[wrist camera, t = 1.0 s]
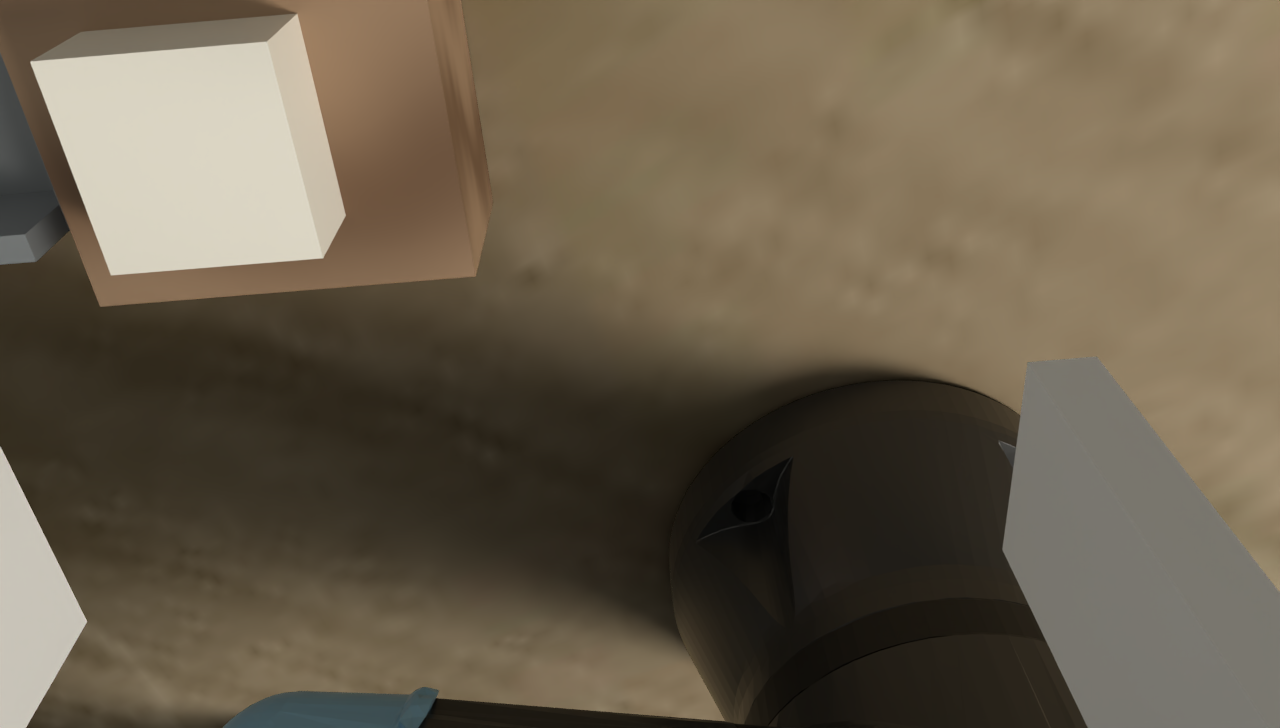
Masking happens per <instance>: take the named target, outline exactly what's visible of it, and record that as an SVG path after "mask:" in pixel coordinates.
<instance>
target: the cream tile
mask: <svg viewBox="0 0 1280 728" xmlns="http://www.w3.org/2000/svg"><path fill="white" fill-rule="evenodd" d="M30 63H31V66H32V68H33V71H34V74H35V76H36V79H37V81H38V84H39V87H40V89H41V92H42V95H43V97H44V100H45V103H46V105H47V108H48V110H49V113H50V116H51V118H52V121H53V124H54V126H55V129H56V132H57V134H58V137H59V139H60V142H61V145H62V147H63V150H64V153H65V155H66V158H67V161H68V163H69V166H70V168H71V171H72V174H73V176H74V179H75V182H76V184H77V187H78V190H79V192H80V195H81V197H82V200H83V203H84V205H85V208H86V211H87V213H88V216H89V219H90V221H91V224H92V226H93V229H94V232H95V234H96V237H97V240H98V242H99V245H100V248H101V250H102V253H103V255H104V258H105V261H106V263H107V266H108V269H109V271H110V274H111V275H123V274H136V273H148V272H160V271H173V270H185V269H197V268H210V267H222V266H234V265H247V264H259V263H271V262H284V261H296V260H308V259H321V258H324V256H325V254H326V252H327V250H328V248H329V246H330V244H331V242H332V241H333V239H334V237H335V235H336V233H337V231H338V229H339V227H340V226H341V224H342V222H343V220H344V218H345V216H346V214H345V210H344V206H343V202H342V198H341V193H340V189H339V185H338V181H337V177H336V173H335V168H334V164H333V160H332V156H331V152H330V148H329V143H328V139H327V135H326V131H325V127H324V123H323V118H322V114H321V110H320V106H319V102H318V98H317V93H316V89H315V85H314V81H313V77H312V73H311V68H310V64H309V60H308V56H307V52H306V48H305V43H304V39H303V35H302V31H301V27H300V23H299V18H298V14H285V15H273V16H262V17H250V18H238V19H226V20H214V21H203V22H191V23H179V24H167V25H155V26H144V27H132V28H120V29H108V30H96V31H84V32H80V33H78V34H77V35H75V36H73V37H71V38H70V39H68V40H66V41H64V42H63V43H61V44H59V45H58V46H56V47H54V48H52V49H51V50H49V51H47V52H46V53H44V54H42V55H40V56H39V57H37V58H35V59H34V60H32V61H30Z"/></svg>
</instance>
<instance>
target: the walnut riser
mask: <svg viewBox="0 0 1280 728" xmlns="http://www.w3.org/2000/svg"><path fill="white" fill-rule="evenodd" d="M285 14H298V18H299V23H300V27H301V31H302V35H303V39H304V43H305V48H306V52H307V56H308V60H309V64H310V68H311V73H312V77H313V81H314V85H315V89H316V93H317V98H318V102H319V106H320V110H321V114H322V118H323V123H324V127H325V131H326V135H327V139H328V143H329V148H330V152H331V156H332V160H333V164H334V168H335V173H336V177H337V181H338V185H339V189H340V193H341V198H342V202H343V206H344V210H345V214H346V216H345V218H344V220H343V222H342V224H341V226H340V227H339V229H338V231H337V233H336V235H335V237H334V239H333V241H332V242H331V244H330V246H329V248H328V250H327V252H326V254H325V256H324V258H321V259H308V260H296V261H284V262H271V263H259V264H247V265H234V266H222V267H210V268H197V269H185V270H173V271H160V272H148V273H136V274H123V275H111V274H110V271H109V269H108V266H107V263H106V261H105V258H104V255H103V253H102V250H101V248H100V245H99V242H98V240H97V237H96V234H95V232H94V229H93V226H92V224H91V221H90V219H89V216H88V213H87V211H86V208H85V205H84V203H83V200H82V197H81V195H80V192H79V190H78V187H77V184H76V182H75V179H74V176H73V174H72V171H71V168H70V166H69V163H68V161H67V158H66V155H65V153H64V150H63V147H62V145H61V142H60V139H59V137H58V134H57V132H56V129H55V126H54V124H53V121H52V118H51V116H50V113H49V110H48V108H47V105H46V103H45V100H44V97H43V95H42V92H41V89H40V87H39V84H38V81H37V79H36V76H35V74H34V71H33V68H32V66H31V63H30V61H32V60H34V59H35V58H37V57H39V56H40V55H42V54H44V53H46V52H47V51H49V50H51V49H52V48H54V47H56V46H58V45H59V44H61V43H63V42H64V41H66V40H68V39H70V38H71V37H73V36H75V35H77V34H78V33H80V32H84V31H96V30H108V29H120V28H132V27H144V26H155V25H167V24H179V23H191V22H203V21H214V20H226V19H238V18H250V17H262V16H273V15H285ZM0 53H1V55H2V58H3V60H4V63H5V66H6V68H7V71H8V73H9V76H10V78H11V81H12V83H13V86H14V89H15V91H16V94H17V96H18V99H19V101H20V104H21V106H22V109H23V111H24V114H25V117H26V119H27V122H28V124H29V127H30V129H31V132H32V134H33V137H34V140H35V142H36V145H37V147H38V150H39V152H40V155H41V157H42V160H43V162H44V165H45V168H46V170H47V173H48V175H49V178H50V180H51V183H52V185H53V188H54V191H55V193H56V196H57V198H58V201H59V203H60V206H61V208H62V211H63V213H64V216H65V219H66V221H67V224H68V226H69V229H70V231H71V234H72V236H73V239H74V242H75V244H76V247H77V249H78V252H79V254H80V257H81V259H82V262H83V264H84V267H85V270H86V272H87V275H88V277H89V280H90V282H91V285H92V287H93V290H94V293H95V295H96V298H97V300H98V303H99V305H100V307H104V306H116V305H128V304H141V303H153V302H166V301H178V300H190V299H203V298H215V297H228V296H240V295H252V294H265V293H277V292H290V291H302V290H314V289H327V288H339V287H352V286H364V285H376V284H389V283H401V282H414V281H426V280H438V279H451V278H463V277H476V274H477V269H478V265H479V261H480V257H481V252H482V248H483V244H484V240H485V235H486V231H487V227H488V223H489V218H490V214H491V210H492V206H493V198H492V192H491V186H490V179H489V173H488V167H487V161H486V154H485V148H484V142H483V136H482V129H481V123H480V117H479V110H478V104H477V98H476V92H475V85H474V79H473V73H472V67H471V60H470V54H469V48H468V42H467V35H466V29H465V23H464V16H463V10H462V4H461V0H0Z"/></svg>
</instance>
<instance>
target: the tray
mask: <svg viewBox="0 0 1280 728" xmlns="http://www.w3.org/2000/svg"><path fill="white" fill-rule="evenodd" d="M68 231H70V229H69V226H68V224H67V221H66V219H65V216H64V213H63V211H62V208H61V206H60V203H59V201H58V198H57V196H56V193H55V191H54V188H53V185H52V183H51V180H50V178H49V175H48V173H47V170H46V168H45V165H44V162H43V160H42V157H41V155H40V152H39V150H38V147H37V145H36V142H35V140H34V137H33V134H32V132H31V129H30V127H29V124H28V122H27V119H26V117H25V114H24V111H23V109H22V106H21V104H20V101H19V99H18V96H17V94H16V91H15V89H14V86H13V83H12V81H11V78H10V76H9V73H8V71H7V68H6V66H5V63H4V60H3V58H2V55H1V53H0V265H2V264H14V263H26V262H36V261H38V260H39V259H40V258H41V257H42V256H43V255H44V254H45V253H46V252H47V251H48V250H49V249H50V248H51V247H52V246H53V245H55V244H56V243H57V242H58V241H59V240H60V239H61V238H62V237H63V236H64V235H65V234H66V233H67V232H68Z"/></svg>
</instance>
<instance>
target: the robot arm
mask: <svg viewBox="0 0 1280 728" xmlns="http://www.w3.org/2000/svg"><path fill="white" fill-rule="evenodd" d="M669 567H670V580H671V592H672V603H673V610H674V615H675V619H676V623H677V626H678V630H679V633H680V635H681V638H682V641H683V643H684V645H685V647H686V650H687V652H688V653H689V655H690V657H691V659H692V661H693V663H694V664H695V666H696V668H697V670H698V672H699V674H700V675H701V677H702V679H703V681H704V683H705V685H706V686H707V688H708V690H709V692H710V694H711V696H712V697H713V699H714V701H715V703H716V705H717V707H718V708H719V710H720V712H721V714H722V716H723V718H724V719H725V721H726V722H725V721H713V720H700V719H688V718H675V717H663V716H650V715H638V714H625V713H613V712H601V711H588V710H576V709H563V708H551V707H538V706H526V705H513V704H501V703H489V702H476V701H464V700H451V699H439V698H436V697H437V695H438V692H439V690H436V689H432V688H428V687H422V688H420V689H417V690H415V691H414V692H413V693H412V694H410V695H406V694H375V693H344V692H313V691H298V692H287V693H281V694H277V695H273V696H270V697H267V698H265V699H263V700H261V701H259V702H257V703H254V704H252V705H250V706H249V707H248V708H246V709H245V710H243V711H242V712H240V713H239V714H237V715H236V716H234V717H233V718H232V719H231V720H230V721H229V722H228V723H227V724H226V725H225V726H223V727H222V728H1280V592H1279V591H1278V590H1277V588H1276V587H1275V586H1274V585H1273V583H1272V582H1271V581H1270V579H1269V578H1268V577H1267V576H1266V574H1265V573H1264V572H1263V570H1262V569H1261V568H1260V567H1259V565H1258V564H1257V563H1256V561H1255V560H1254V559H1253V557H1252V556H1251V555H1250V554H1249V552H1248V551H1247V550H1246V548H1245V547H1244V546H1243V545H1242V543H1241V542H1240V541H1239V539H1238V538H1237V537H1236V536H1235V534H1234V533H1233V532H1232V530H1231V529H1230V528H1229V527H1228V525H1227V524H1226V523H1225V521H1224V520H1223V519H1222V517H1221V516H1220V515H1219V514H1218V512H1217V511H1216V510H1215V508H1214V507H1213V506H1212V505H1211V503H1210V502H1209V501H1208V499H1207V498H1206V497H1205V496H1204V494H1203V493H1202V492H1201V490H1200V489H1199V488H1198V487H1197V485H1196V484H1195V483H1194V481H1193V480H1192V479H1191V477H1190V476H1189V475H1188V474H1187V472H1186V471H1185V470H1184V468H1183V467H1182V466H1181V465H1180V463H1179V462H1178V461H1177V459H1176V458H1175V457H1174V456H1173V454H1172V453H1171V452H1170V450H1169V449H1168V448H1167V447H1166V445H1165V444H1164V443H1163V441H1162V440H1161V439H1160V437H1159V436H1158V435H1157V434H1156V432H1155V431H1154V430H1153V428H1152V427H1151V426H1150V425H1149V423H1148V422H1147V421H1146V419H1145V418H1144V417H1143V416H1142V414H1141V413H1140V412H1139V410H1138V409H1137V408H1136V407H1135V405H1134V404H1133V403H1132V401H1131V400H1130V399H1129V397H1128V396H1127V395H1126V394H1125V392H1124V391H1123V390H1122V388H1121V387H1120V386H1119V385H1118V383H1117V382H1116V381H1115V379H1114V378H1113V377H1112V376H1111V374H1110V373H1109V372H1108V370H1107V369H1106V368H1105V367H1104V365H1103V364H1102V363H1101V361H1100V360H1099V359H1098V357H1086V358H1074V359H1062V360H1049V361H1037V362H1028V363H1027V371H1026V378H1025V386H1024V393H1023V400H1022V408H1021V415H1018V414H1017V413H1015V412H1014V411H1013V410H1011V409H1009V408H1007V407H1006V406H1004V405H1002V404H1000V403H998V402H996V401H994V400H992V399H990V398H988V397H985V396H982V395H980V394H977V393H975V392H971V391H968V390H965V389H961V388H958V387H953V386H949V385H944V384H937V383H931V382H921V381H877V382H868V383H860V384H854V385H848V386H843V387H839V388H835V389H830V390H827V391H823V392H820V393H817V394H814V395H811V396H808V397H805V398H803V399H800V400H797V401H795V402H793V403H790V404H788V405H786V406H784V407H781V408H779V409H778V410H776V411H774V412H772V413H770V414H768V415H766V416H764V417H763V418H761V419H759V420H758V421H756V422H754V423H753V424H752V425H750V426H749V427H747V428H746V429H744V430H743V431H741V432H740V433H739V434H738V435H736V436H735V437H734V438H733V439H731V440H730V441H729V442H728V443H727V444H726V445H724V446H723V447H722V448H721V449H720V450H719V451H718V452H717V453H716V454H715V455H714V456H713V457H712V458H711V459H710V460H709V462H708V463H707V464H706V465H705V466H704V468H703V469H702V470H701V471H700V473H699V474H698V475H697V477H696V478H695V480H694V481H693V483H692V484H691V486H690V487H689V489H688V491H687V493H686V494H685V496H684V498H683V500H682V503H681V505H680V507H679V509H678V512H677V515H676V518H675V521H674V524H673V528H672V533H671V539H670V547H669ZM86 623H87V620H86V618H85V616H84V614H83V612H82V610H81V608H80V606H79V604H78V602H77V600H76V598H75V596H74V594H73V592H72V590H71V588H70V586H69V584H68V582H67V580H66V578H65V576H64V574H63V572H62V570H61V568H60V566H59V564H58V562H57V560H56V558H55V556H54V554H53V552H52V550H51V548H50V546H49V544H48V542H47V539H46V537H45V535H44V533H43V531H42V529H41V527H40V525H39V523H38V521H37V519H36V517H35V515H34V513H33V511H32V509H31V507H30V505H29V503H28V501H27V499H26V497H25V495H24V493H23V491H22V489H21V487H20V485H19V483H18V481H17V479H16V477H15V475H14V473H13V471H12V469H11V467H10V465H9V463H8V461H7V459H6V457H5V455H4V453H3V451H2V449H1V447H0V728H26V727H27V725H28V723H29V722H30V720H31V718H32V716H33V715H34V713H35V711H36V710H37V708H38V706H39V704H40V703H41V701H42V699H43V697H44V696H45V694H46V692H47V690H48V689H49V687H50V685H51V684H52V682H53V680H54V678H55V677H56V675H57V673H58V671H59V670H60V668H61V666H62V664H63V663H64V661H65V659H66V658H67V656H68V654H69V652H70V651H71V649H72V647H73V645H74V644H75V642H76V640H77V639H78V637H79V635H80V633H81V632H82V630H83V628H84V626H85V625H86Z"/></svg>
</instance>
